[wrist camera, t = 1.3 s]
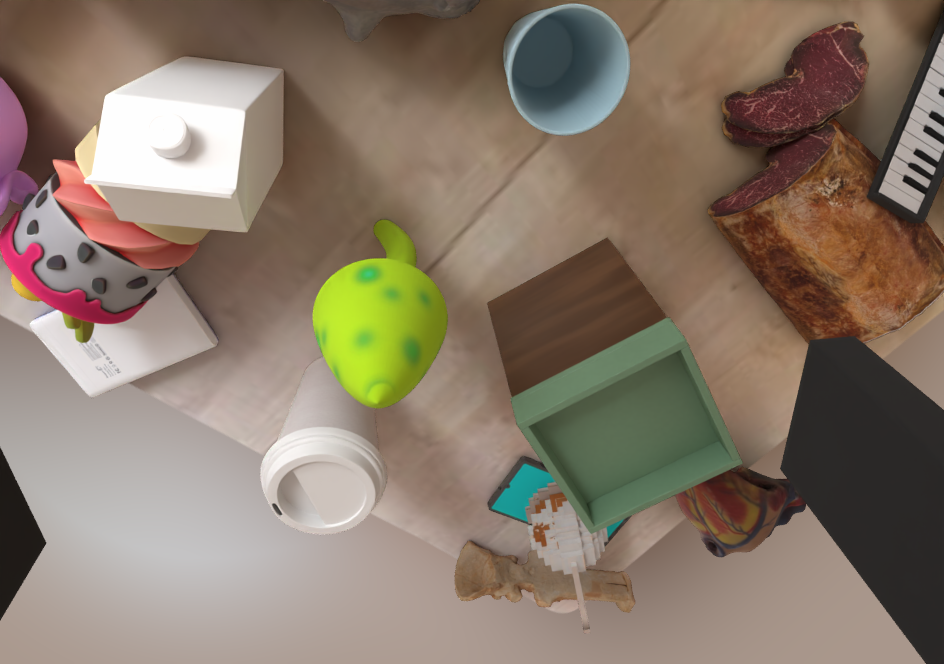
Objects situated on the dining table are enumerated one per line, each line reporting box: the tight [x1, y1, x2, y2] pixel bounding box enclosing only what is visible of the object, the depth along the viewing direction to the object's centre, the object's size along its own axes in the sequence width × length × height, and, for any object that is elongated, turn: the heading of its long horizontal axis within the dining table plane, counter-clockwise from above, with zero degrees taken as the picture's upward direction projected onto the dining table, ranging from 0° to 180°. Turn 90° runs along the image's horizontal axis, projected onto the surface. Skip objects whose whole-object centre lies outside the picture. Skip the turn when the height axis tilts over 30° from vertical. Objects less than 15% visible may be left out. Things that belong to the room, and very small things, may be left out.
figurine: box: [455, 541, 635, 613], centre depth 74 cm, size 7×4×20 cm
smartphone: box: [488, 457, 632, 547], centre depth 73 cm, size 7×1×15 cm
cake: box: [0, 119, 211, 343], centre depth 49 cm, size 10×11×15 cm
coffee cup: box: [260, 357, 387, 534], centre depth 57 cm, size 10×10×15 cm
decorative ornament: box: [525, 482, 608, 634], centre depth 67 cm, size 8×8×15 cm
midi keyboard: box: [867, 10, 944, 223], centre depth 52 cm, size 18×1×5 cm
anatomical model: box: [676, 467, 806, 557], centre depth 73 cm, size 9×13×15 cm
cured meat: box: [708, 21, 944, 344], centre depth 55 cm, size 18×25×7 cm
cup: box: [503, 4, 630, 136], centre depth 46 cm, size 8×8×10 cm
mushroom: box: [313, 219, 448, 408], centre depth 46 cm, size 8×8×25 cm
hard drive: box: [30, 274, 218, 398], centre depth 58 cm, size 2×8×12 cm
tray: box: [510, 317, 743, 534], centre depth 48 cm, size 12×12×3 cm
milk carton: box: [84, 56, 284, 232], centre depth 43 cm, size 7×7×19 cm
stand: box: [487, 238, 667, 397], centre depth 56 cm, size 12×12×15 cm
